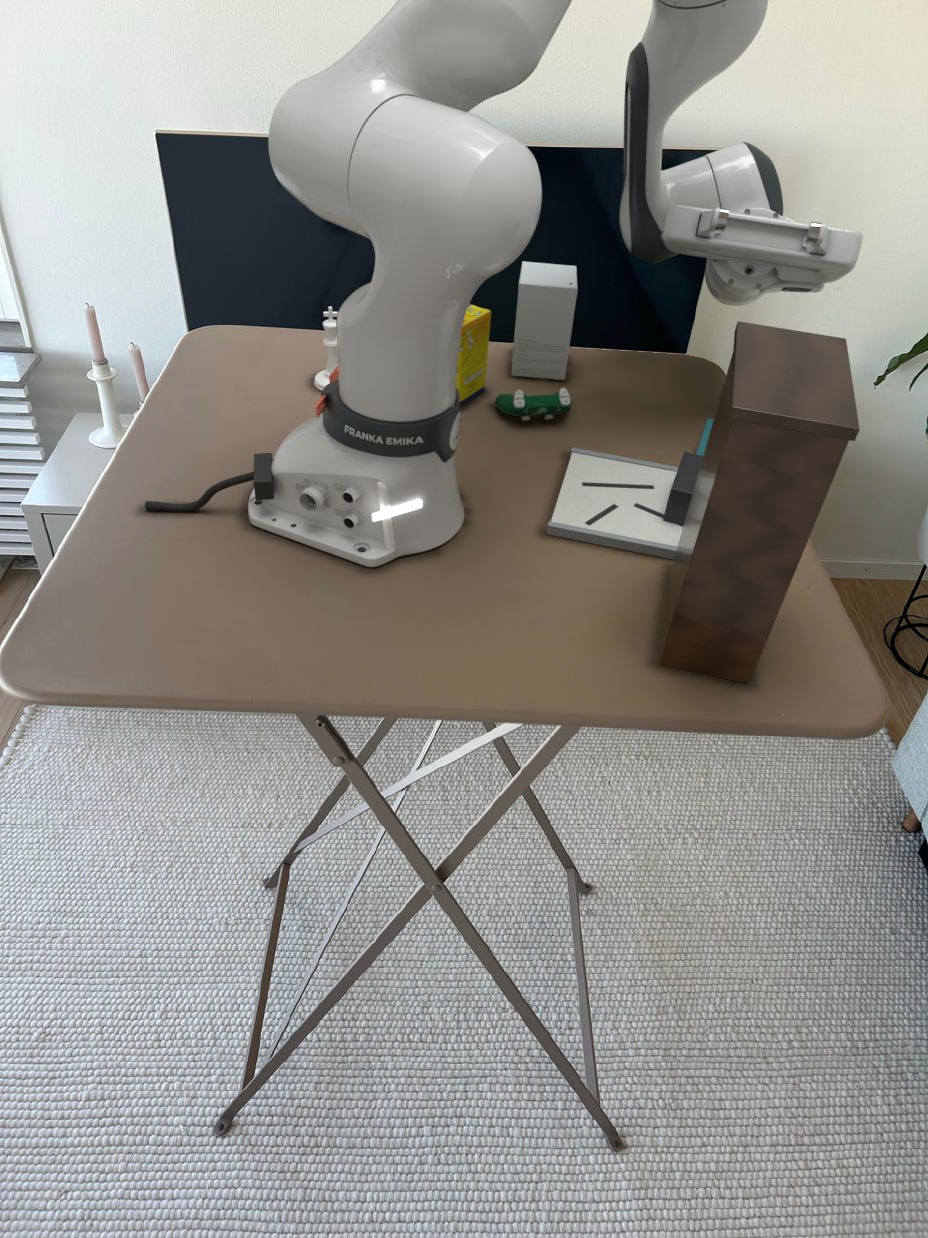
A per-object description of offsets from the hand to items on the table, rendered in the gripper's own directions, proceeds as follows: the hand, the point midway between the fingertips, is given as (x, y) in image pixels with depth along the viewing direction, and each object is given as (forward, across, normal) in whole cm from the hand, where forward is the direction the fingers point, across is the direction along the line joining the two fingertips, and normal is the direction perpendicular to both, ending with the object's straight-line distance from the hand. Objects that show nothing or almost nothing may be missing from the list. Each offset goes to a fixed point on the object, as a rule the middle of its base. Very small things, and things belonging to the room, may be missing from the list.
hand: (768, 223), depth 87 cm
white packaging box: (-26, -23, +16) cm, 38 cm away
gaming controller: (-15, -21, +22) cm, 34 cm away
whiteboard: (-2, -6, +30) cm, 31 cm away
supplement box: (-17, -32, +21) cm, 42 cm away
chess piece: (-14, -47, +23) cm, 54 cm away
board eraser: (-6, 0, +26) cm, 27 cm away
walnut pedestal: (+13, +2, +38) cm, 40 cm away
